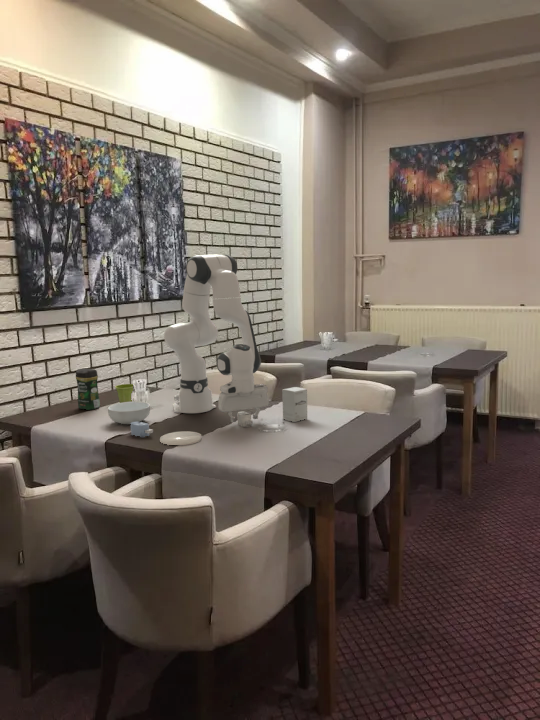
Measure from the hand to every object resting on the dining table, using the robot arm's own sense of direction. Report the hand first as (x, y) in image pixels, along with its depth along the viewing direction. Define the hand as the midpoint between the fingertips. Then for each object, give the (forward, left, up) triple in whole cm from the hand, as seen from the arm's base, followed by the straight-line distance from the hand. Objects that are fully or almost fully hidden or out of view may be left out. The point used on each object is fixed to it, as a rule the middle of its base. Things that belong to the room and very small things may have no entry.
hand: (244, 420), depth 229 cm
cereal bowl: (-27, -40, -2) cm, 48 cm away
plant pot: (-63, -35, -2) cm, 72 cm away
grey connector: (0, 0, -2) cm, 2 cm away
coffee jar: (-63, -52, -2) cm, 82 cm away
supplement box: (+3, +21, -2) cm, 21 cm away
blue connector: (-6, -40, -2) cm, 41 cm away
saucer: (+8, -28, -2) cm, 29 cm away
